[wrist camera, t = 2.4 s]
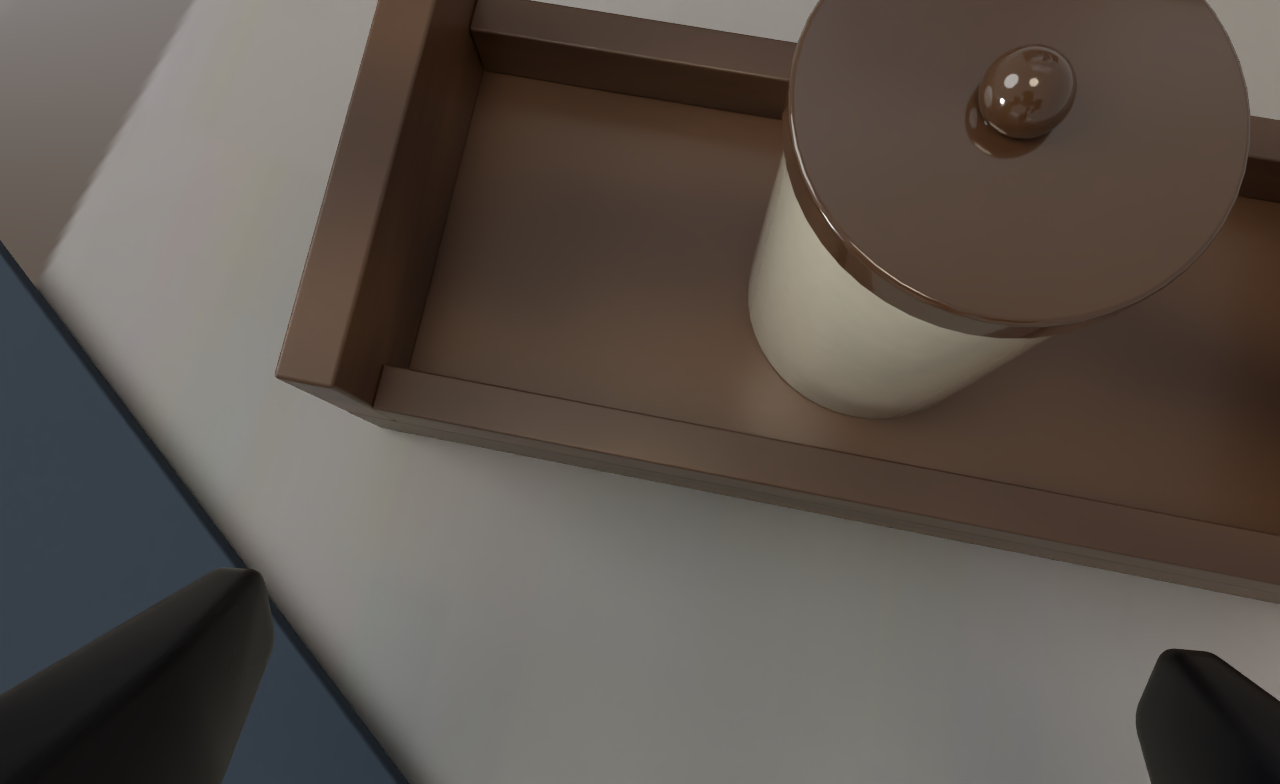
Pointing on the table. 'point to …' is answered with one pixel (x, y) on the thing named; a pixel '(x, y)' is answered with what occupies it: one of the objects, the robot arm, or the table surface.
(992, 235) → the canister
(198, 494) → the table surface
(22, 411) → the mat
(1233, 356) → the brown wooden tray
